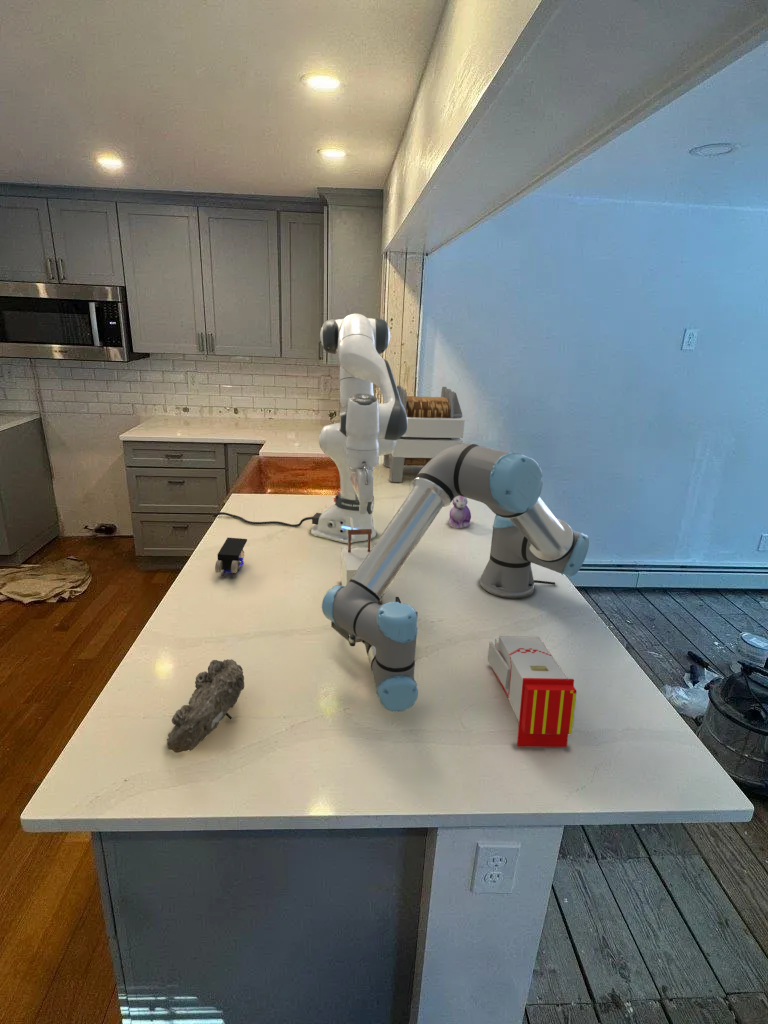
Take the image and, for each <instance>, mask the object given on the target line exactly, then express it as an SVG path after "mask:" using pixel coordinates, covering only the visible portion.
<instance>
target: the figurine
mask: <svg viewBox="0 0 768 1024" xmlns="http://www.w3.org/2000/svg"><path fill="white" fill-rule="evenodd" d="M468 503H469V502H468V498H466V497H463V496H457V497H455V498H454V499H453V500H452V505H453V506H452V508H450V510H449V515H448V516H449V518H448V524H449V526H450V527H451V528H454V529H462V528H467V527H469V526H470V523H471V519H472V513H471V510H470V508H469V507H468Z"/></svg>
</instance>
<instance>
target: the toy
mask: <svg viewBox="0 0 768 1024" xmlns="http://www.w3.org/2000/svg"><path fill="white" fill-rule="evenodd" d="M488 643H489V644H488V651H487V658H486V659H487V662H488V664H489V666H490V668H491V669H492V672H493V674H494V675H495V677H496V679H497V681H498V682H499V684H500V687H501V688H502V691H503V692H504V694H505V697H507V699H508V702H509V705H510V706H511V709H512V710H513V713H514V714H515V717H516V720H517V721H518V728H517V729H518V730H517V741H516V746H517V747H520V748H521V747H522V748H523V747H525V748H527V747H529V748H531V747H532V748H533V747H534V748H545V747H546V748H567V747H568V740H569V735H572V733H573V725H574V716H575V708H576V700H577V689H576V687H575V686H574V685H575V679H574V678H569V677H568V676H567V675H566V673H565V672H564V670H563V669H562V668H561V667H560V665H559V663H558V662H557V661H556V659H555V658H554V656H553V654H552V653H551V652H550V650H549V649H548V648H547V646H546V644H545V642H544V641H543V640H542V639H541V638H540V636H534V635H533V636H532V635H530V636H527V635H526V636H525V635H524V636H523V635H498V637H497V636H496V637H494V643H493V641H489V642H488Z"/></svg>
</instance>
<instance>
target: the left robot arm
mask: <svg viewBox="0 0 768 1024" xmlns="http://www.w3.org/2000/svg"><path fill="white" fill-rule="evenodd" d="M389 327H390V326H389V325H388V322H387V321H386V319H383V318H378V317H374V318H371V317H366V316H365V315H364V314H361V313H351V314H348V315H346V316H345V317H344V318H338V319H335V318H330V319H328V320H325V321H324V322H323V323H322V327H320V332H319V340H320V344H321V346H322V348H323V350H324V351H325V352H326V353H327V354H331V355H336V354H338V361H339V379H338V380H339V403H340V405H341V407H342V408H341V409H340V410H339V416H340V418H339V419H340V421H339V422H335V423H330V424H326V425H323V427H322V429H321V430H320V432H319V435H318V445H319V447H320V450H321V451H322V452H323V453H324V454H325V455H326V456H328V457H329V458H330V459H331V460H332V462H333V463H334V464H335V466H336V467H337V470H338V474H339V483H340V484H339V485H340V488H339V489H340V490H339V491H338V492H337V494H336V495H335V496H334V497H333V502H334V504H333V505H331V506H329V507H328V508H326V509H325V510H323V512H316V513H315V514H314V515H313V516H307V517H305V518H302V519H300V522H299V523H297V524H290V523H287V522H283V521H279V520H277V521H276V520H275V521H274V520H271V521H251V520H247V519H245V518H243V517H241V516H239V515H236V514H232V513H229V512H224V511H221V512H216V513H215V514H214V515H213V516H212V517H213V518H216V517H217V516H220V515H221V516H222V515H224V516H227V517H231V518H234V519H235V518H236V519H239V520H240V521H242V522H243V523H245V524H249V525H282V526H285V527H293V528H298V527H301V525H303V523H304V522H305V521H308V520H309V521H310V520H311V524H312V525H313V526H312V528H311V530H310V533H311V536H315V537H319V538H323V539H326V540H330V541H336V542H339V543H343V544H348V530H351V529H371V530H372V534H371V540H372V539H373V538H375V537H376V535H377V532H376V528H375V523H374V513H373V512H374V509H375V496H374V474H373V472H374V468H375V467H378V466H379V458H380V456H384V455H386V454H390V453H391V452H392V451H393V450H394V448H395V446H396V442H397V440H398V439H399V438H400V437H402V436H403V435H404V434H405V433H406V431H407V425H408V419H407V414H406V411H405V408H404V406H403V404H402V402H401V399H400V396H399V393H398V390H397V386H398V385H397V382H396V380H395V377H394V374H393V370H392V368H391V365H390V363H389V361H388V360H387V359H385V358H384V357H382V356H381V354H383V353H384V352H385V351H386V350H387V349H388V347H389V344H390V342H391V329H390V328H389ZM374 385H375V386H377V387H378V388H379V390H380V392H381V395H382V399H383V402H384V403H381V402H380V403H379V399H378V397H376V396H375V394H374ZM365 541H368V534H365V535H351V544H352V543H357V542H365Z"/></svg>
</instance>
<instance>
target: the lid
mask: <svg viewBox="0 0 768 1024" xmlns="http://www.w3.org/2000/svg"><path fill="white" fill-rule="evenodd" d="M365 534H368V540H367V547H352V543H351V535H365ZM371 534H372V530H371V529H351V530H348V543H347V547H346V548H345V547H342V548H340V553H342V557H343V561H344V565H345V569H346V572H347V574H350V573H355V572H356V571H357V569H358V568H359V567H360V565H361V564H362V562H363V561H364V559H365V558H366V556H367V555H368V553H369V552H370V551H371V549H372V548H373V546H372V547H371V545H372V544H371V543H372V542H371V541H372V539H371Z"/></svg>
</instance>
